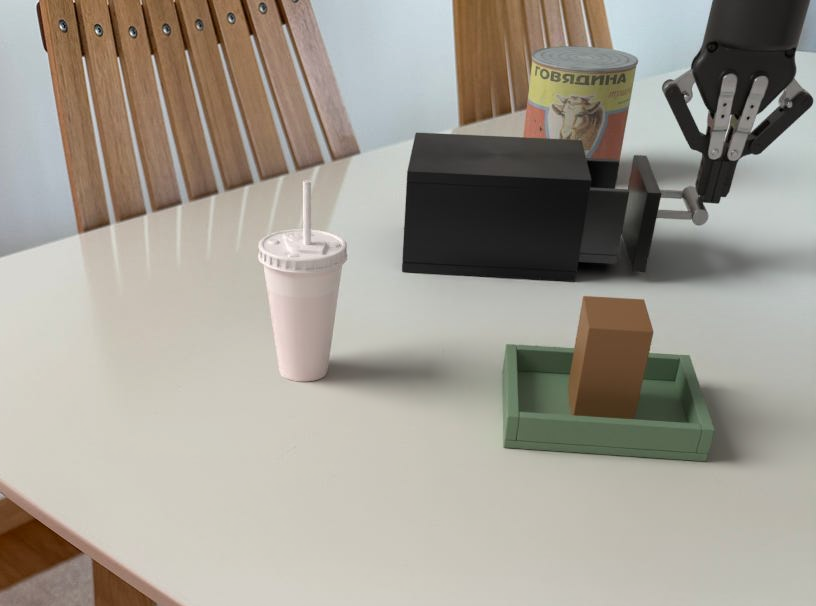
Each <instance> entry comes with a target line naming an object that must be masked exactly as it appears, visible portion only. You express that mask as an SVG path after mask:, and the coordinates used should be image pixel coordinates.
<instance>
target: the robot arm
mask: <svg viewBox="0 0 816 606" xmlns="http://www.w3.org/2000/svg"><path fill="white" fill-rule="evenodd" d="M810 3H811V0H712V1H711V5H710V8H709V9H710V10H709V14H708V19H707V23H706V27H705V31H704V36H703V40H702V44H701V47H700V49H699V50H698V52H697V54H696V55H695V56H694V58H693V59H692V61H691V64H690V69H689V70H688V69H687V71H685V72H684V73H682V74H681V75H679V76H677V77H676V78H675V79H671V78H668V79H666V80H665V81H664V82H663V83H662V85H661V91H662V93H663V95H664V97H665V100H666V101H667V104H668V106H669V108H670V109H671V111H672V114H673V116H674V118H675V120H676V122H677V125H678V126H679V128H680V131H681V133H682V135H683V137H684V139H685V141H686V143H687V145H688V146H689V148H690V150H692V151H696V152H699V153H700V154H701V159H700V164H699V168H698V172H697V175H696V180H695V184H694V187H695V188H696V192H697V194H698V195H699V196H700V198H701V200H702V203H703V204H704V203H705V204H716V205H717V204H720V202H721V199H722V198H726V197H727V196H728V195H729V193H730V191H731V188H732V184H733V179H734V177H735V172H736V168H737V165H738V162H739V161H740V160H741V159H742V158H743V157H745V156H749V155H754V156H759V155H760V154H762V153H763V152H764V151H765V150H766V149H767V148H769V146H771V144H773V143H774V142H775V141H776V140H777V139H778V138H779V137H780V136H781V135H783V133H785V132H786V131H787V130H788V129H789V128H790V127H791V126H792V125H793V124H794V123H795V122H796V121H797V120H799V119H800V118H801V117H802V116H803V115H804V114H805V113H806V112H808V110H809V109H811V108H812V106H813V104H814V97H813V96H812V95H811V93H810V92H809V91H808V90H806V89H805V88H803V87H802V86H801V84H800V83H799V82H798V81H797V80H796V75H797V64H796V52H797V49H798V46H799V42H800V40H801V39H800V38H801V36H802V32H803V28H804V24H805V21H806V17H807V14H808V10H809V7H810ZM694 84H695V85H696V88H697V90H698V92H699V95H700V98H701V100H702V102H703V104H704V106H705V107H706V109H707V110H708V112H707V118H706V130H705V133H703V132H702V131H700V129H699V127H698V125H697V123H696V121H695V118H694V116H693V114H692V112H691V110H690V108H689V106H688V103H689V102H691V101H692V99H693V97H694V96H693V95H694V93H693V86H694ZM781 93H782V94H781ZM780 94H781V95H780ZM778 96H780V97H779V98H778ZM776 98H778V106H777V107H776V108H775V109H774V110H773V111H772V112H771V113H770V114H769V115H767V117H766V118H765V119H763V120H762V121H761V122H760V123H759V124H758V125H757V126H756V127H755V128H754V129H753V127H754V124H755V122H756V119H757V115H759V114H761V113H763V112H764V111H765V110H766V108H767V107H769V105H771V103H772V102H773V101H774V100H775V99H776Z"/></svg>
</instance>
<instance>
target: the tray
mask: <svg viewBox="0 0 816 606" xmlns="http://www.w3.org/2000/svg"><path fill="white" fill-rule="evenodd" d="M573 353H574V347H562V346H545V345H530V344H529V345H528V344H515V343H514V344H511V343H507V344H505V350H504V358H503V367H502V429H503V430H502V433H503V434H502V437H503V438H502V440H503V443H502V444H503V448H507V449H522V450H535V451H536V450H538V451H549V452H550V451H552V452H562V453H563V452H564V453H580V454H594V455H607V456H609V455H610V456H620V457H621V456H625V457H637V458H651V459H664V460H678V461H679V460H680V461H695V462H707V459H708V456H709V453H710V449H711V445H712V441H713V438H714V435H715V427H714V424H713V421H712V418H711V415H710V412H709V409H708V406H707V403H706V400H705V397H704V394H703V391H702V389H701V385H700V383H699V382H700V381H699V379H698V376H697V373H696V370H695V367H694V364H693V361H692V359H691V355H690V354H675V353H674V354H673V353H660V352H659V353H658V352H657V353H656V352H649V355H648V360H647V364H646V369H645V374H644V378H643V383H642V387H641V392H640V396H639V401H638V406H637V410H636V415H635V419H621V418H606V417H591V416H576V415H571V411H570V403H569V395H568V383H569V377H570V371H571V365H572V359H573Z"/></svg>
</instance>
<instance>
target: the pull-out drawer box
mask: <svg viewBox="0 0 816 606" xmlns="http://www.w3.org/2000/svg"><path fill="white" fill-rule="evenodd" d="M586 160H587V164H588V168H589V172H590V176H591V187H590V193H589V199H588V205H587V211H586V217H585V224H584V230H583V236H582V242H581V248H580V254H579V260H578V263H588V264H589V263H590V264H608V265H609V264H610V265H617V261H618V255H619V251H620V245H621V239H623V240H622V241H623V243H624V248H625V251H626V255H627V258H628V262H629V266H630V270H631V273H643V274H644V273H646V272H647V267H648V261H649V256H650V251H651V246H652V243H653V236H654V232H655V229H656V228H655V227H656V223H657V219H665V220H668V219H669V220H685V221H686V220H687V221H692V223H693V224H694V225H695V226H697V227H698V226H703V225H705V224H706V223H707V222H708V220H709V216H710V215H709V212H708V210H707V208H706V206H705V204H704V203H702V200H701V198H700V195H698V194H697V192H696V187H695V186H693V185H688V186H686V187H684V188H683V190H676V189H660V186H659V183H658V181H657V179H656V176H655V173H654V170H653V169H652V166H651V164H650V161H649V158H648V156H647V155H644V154H643V155H642V154H641V155H640V154H634V155H633V157H632V163H631V168H630V174H629V179H628V185H627V189H626V188H616V186H617V180H618V178H617V175H618V176H619V168H620V162H621V160H620V161H619V159H598V158H586ZM661 199H674V200H675V199H677V200H678V199H679V200H682V201H683V203H684V206H685V208H686V210H677V209H659V208H660V203H661Z"/></svg>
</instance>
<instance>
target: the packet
mask: <svg viewBox="0 0 816 606" xmlns="http://www.w3.org/2000/svg"><path fill="white" fill-rule="evenodd" d="M653 338H654V328H653V325H652V321H651V319H650V315H649V312H648V308H647V305H646V301H645V298H643V299H642V298H624V297H611V296H610V297H607V296H590V295H583V296H582V300H581V307H580V314H579V319H578V324H577V331H576V337H575V342H574V343H575V344H574V346H573V348H574V353H573V359H572V365H571V371H570V377H569V383H568V395H569V403H570V411H571V415H576V416H591V417H606V418H621V419H635V415H636V410H637V406H638V401H639V396H640V392H641V387H642V383H643V378H644V374H645V369H646V364H647V360H648V355H649V353H650V350H651V345H652V341H653Z"/></svg>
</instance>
